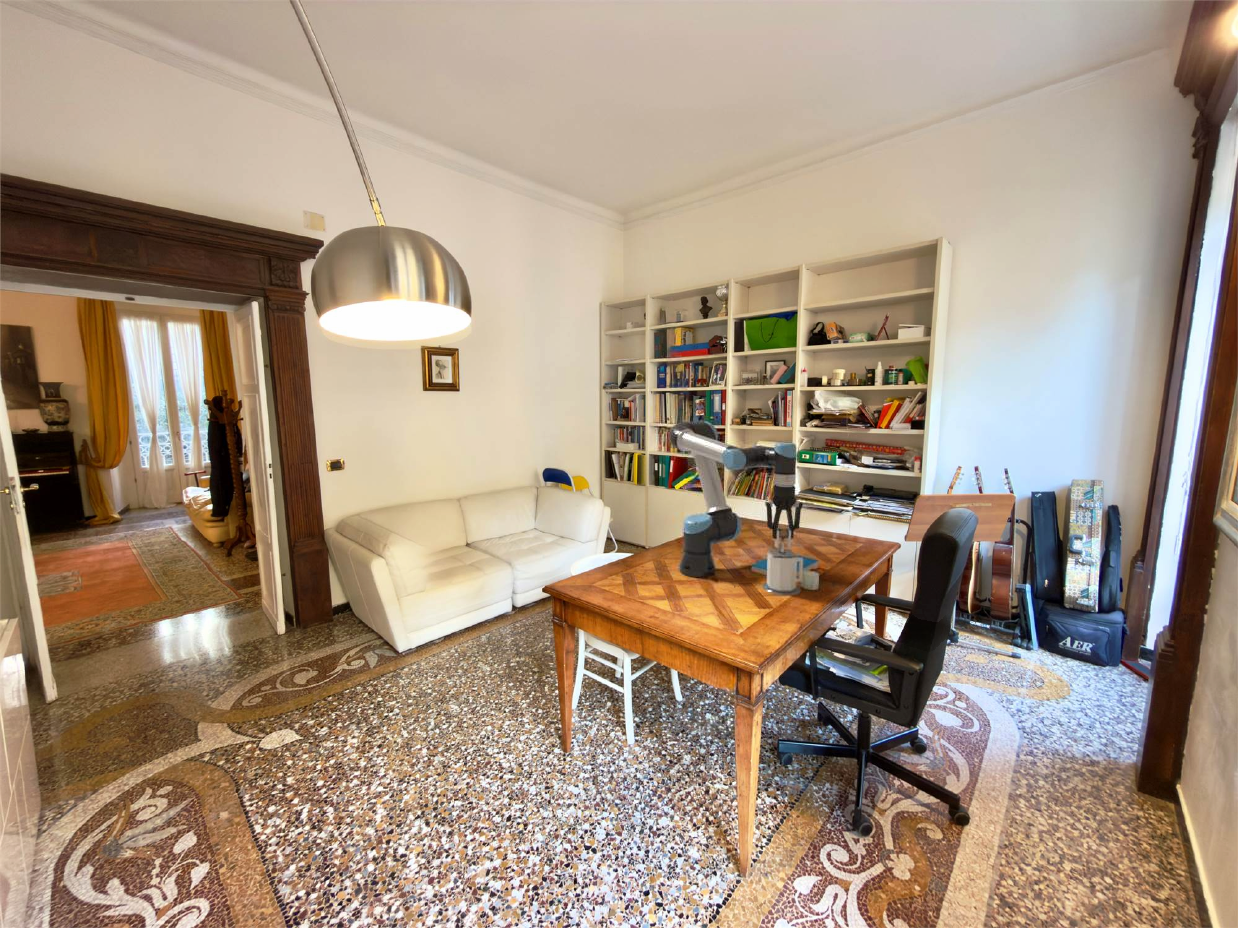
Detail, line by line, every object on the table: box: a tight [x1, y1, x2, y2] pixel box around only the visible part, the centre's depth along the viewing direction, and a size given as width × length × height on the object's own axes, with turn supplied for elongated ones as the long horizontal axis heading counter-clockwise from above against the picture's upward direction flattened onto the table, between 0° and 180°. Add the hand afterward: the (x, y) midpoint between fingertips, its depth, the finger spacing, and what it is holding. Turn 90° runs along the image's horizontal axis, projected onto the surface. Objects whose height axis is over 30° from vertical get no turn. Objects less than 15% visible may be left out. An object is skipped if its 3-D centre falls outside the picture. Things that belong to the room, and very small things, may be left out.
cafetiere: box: [766, 548, 803, 593], centre depth 180 cm, size 10×13×14 cm
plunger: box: [777, 527, 789, 554], centre depth 179 cm, size 4×4×16 cm
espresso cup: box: [800, 570, 820, 591], centre depth 181 cm, size 7×6×6 cm
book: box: [750, 554, 819, 577], centre depth 201 cm, size 17×4×25 cm
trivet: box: [761, 581, 802, 596], centre depth 181 cm, size 14×14×1 cm
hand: (782, 546), depth 179 cm, fingers closed on plunger, 4 cm apart
